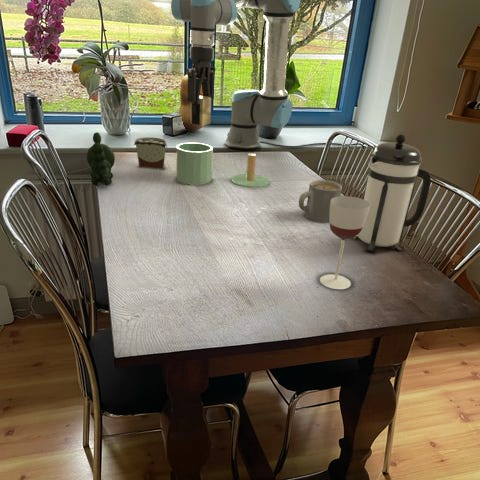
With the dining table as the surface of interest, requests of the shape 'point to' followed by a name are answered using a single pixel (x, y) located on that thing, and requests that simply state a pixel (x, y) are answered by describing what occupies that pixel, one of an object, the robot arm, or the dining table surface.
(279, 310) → the dining table surface
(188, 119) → the butternut squash
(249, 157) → the lid
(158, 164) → the food container
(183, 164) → the canister
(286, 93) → the robot arm
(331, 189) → the coffee mug
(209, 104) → the block
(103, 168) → the toy figurine
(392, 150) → the coffee press
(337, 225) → the wineglass
